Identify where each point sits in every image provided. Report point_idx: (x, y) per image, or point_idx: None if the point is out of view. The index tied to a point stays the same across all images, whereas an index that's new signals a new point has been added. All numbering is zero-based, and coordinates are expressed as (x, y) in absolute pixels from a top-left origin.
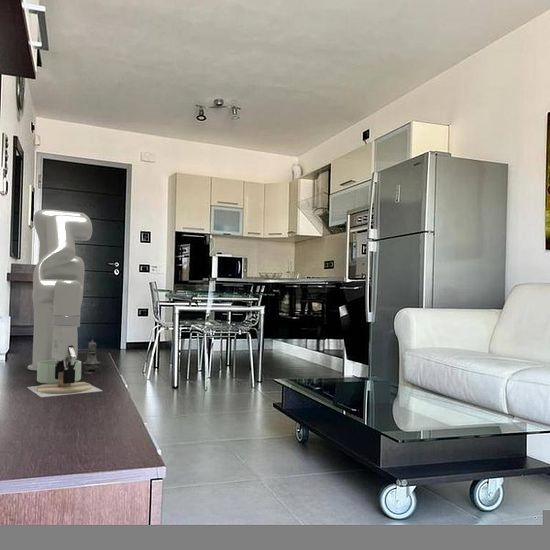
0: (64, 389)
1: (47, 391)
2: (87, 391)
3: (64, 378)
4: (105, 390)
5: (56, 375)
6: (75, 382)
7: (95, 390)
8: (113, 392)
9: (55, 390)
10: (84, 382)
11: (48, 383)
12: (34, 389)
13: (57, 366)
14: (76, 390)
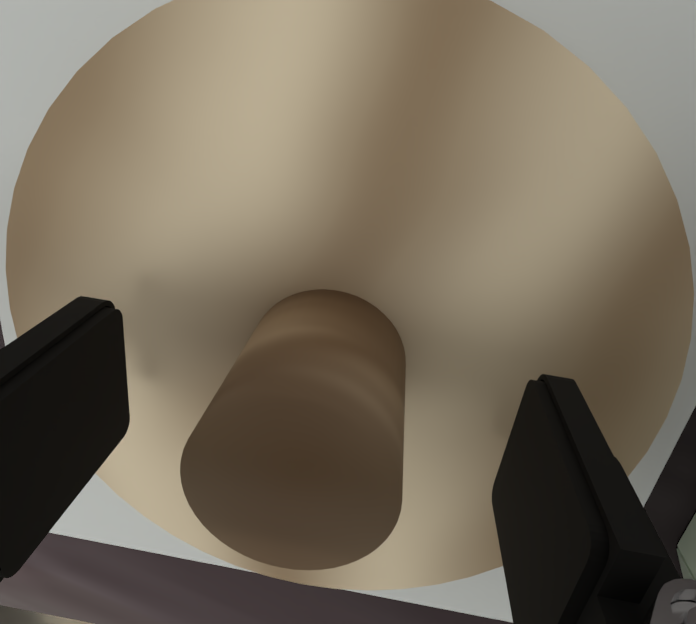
0: (104, 266)
1: (113, 39)
2: None
3: (40, 339)
4: (119, 566)
5: (541, 416)
6: (474, 538)
7: (79, 501)
8: None
9: (84, 146)
10: (405, 586)
11: (685, 299)
12: (574, 3)
13: (594, 569)
14: None
